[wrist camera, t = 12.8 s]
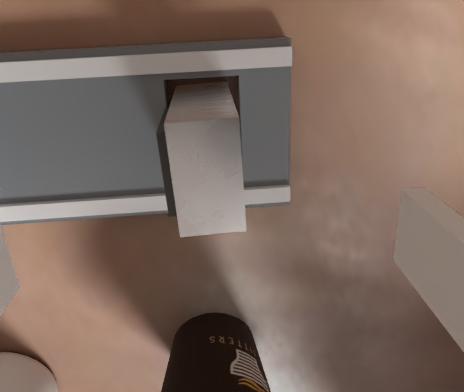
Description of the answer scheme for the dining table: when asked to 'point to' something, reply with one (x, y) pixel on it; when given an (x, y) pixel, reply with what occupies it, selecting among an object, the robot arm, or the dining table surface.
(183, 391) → the coffee mug
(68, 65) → the rail
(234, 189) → the block
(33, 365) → the milk bottle
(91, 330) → the dining table surface
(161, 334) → the dining table surface
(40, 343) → the dining table surface
